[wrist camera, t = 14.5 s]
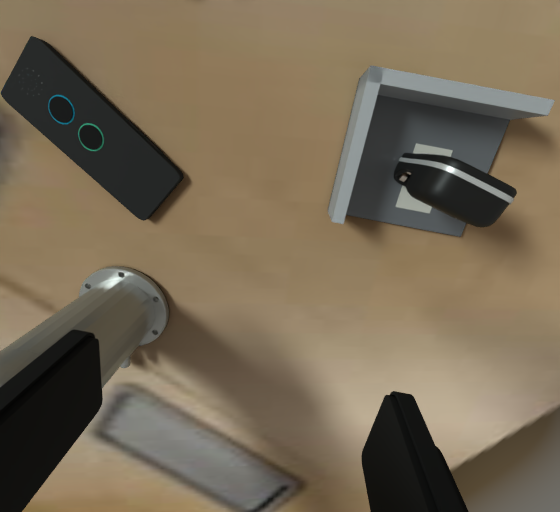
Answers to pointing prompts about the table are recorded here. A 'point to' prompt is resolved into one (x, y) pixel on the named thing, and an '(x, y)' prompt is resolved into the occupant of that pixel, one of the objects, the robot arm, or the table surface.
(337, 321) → the table surface
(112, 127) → the smart home device
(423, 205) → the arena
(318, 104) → the table surface
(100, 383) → the robot arm
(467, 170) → the battery charger
